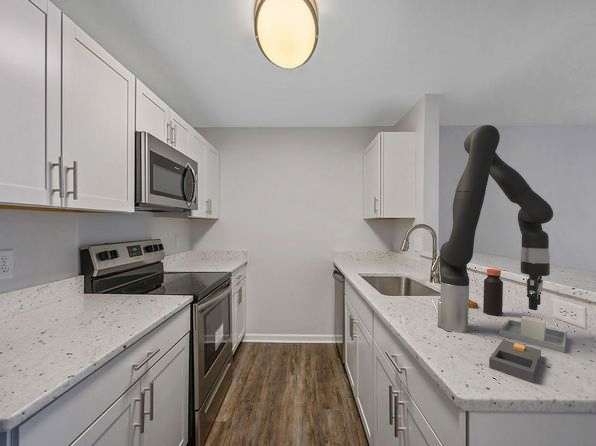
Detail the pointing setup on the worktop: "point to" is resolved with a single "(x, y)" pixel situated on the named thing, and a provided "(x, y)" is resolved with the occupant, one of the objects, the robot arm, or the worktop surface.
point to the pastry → (473, 304)
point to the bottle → (493, 293)
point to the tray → (552, 338)
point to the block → (533, 328)
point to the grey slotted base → (516, 360)
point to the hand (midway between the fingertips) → (534, 306)
